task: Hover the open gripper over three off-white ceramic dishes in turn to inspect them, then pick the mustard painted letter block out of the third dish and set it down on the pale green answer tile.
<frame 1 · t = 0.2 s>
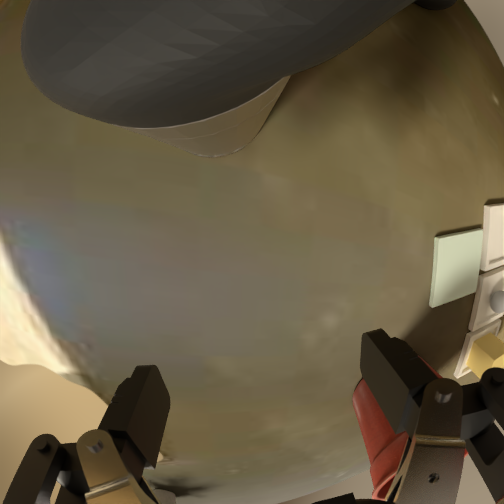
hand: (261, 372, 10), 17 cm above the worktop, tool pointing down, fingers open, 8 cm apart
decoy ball: (492, 297, 30), point 1 cm above the worktop, touching dish 2
dish 3: (476, 346, 33), on the worktop
flower pot: (388, 384, 33), on the worktop
dish 1: (498, 233, 27), on the worktop
answer tile: (456, 266, 28), on the worktop
dish 2: (490, 295, 30), on the worktop
letter block: (478, 348, 33), point 1 cm above the worktop, touching dish 3
house plant: (166, 491, 41), on the worktop
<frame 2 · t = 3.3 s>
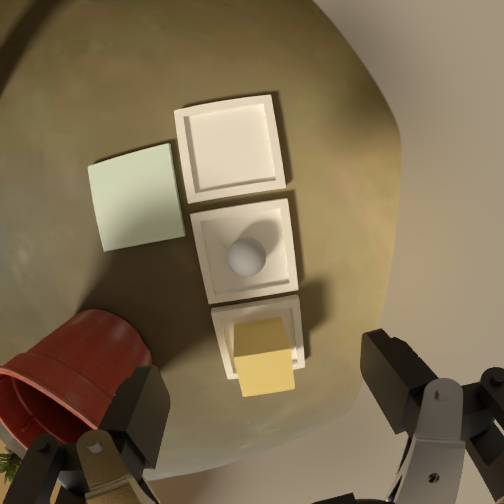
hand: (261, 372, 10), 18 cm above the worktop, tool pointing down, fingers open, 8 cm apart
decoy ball: (246, 252, 27), point 1 cm above the worktop, touching dish 2
dish 3: (260, 337, 30), on the worktop
flower pot: (109, 350, 30), on the worktop
dish 1: (229, 148, 25), on the worktop
answer tile: (135, 198, 25), on the worktop
dish 2: (245, 250, 27), on the worktop
letter block: (260, 340, 29), point 1 cm above the worktop, touching dish 3
house plant: (24, 439, 37), on the worktop
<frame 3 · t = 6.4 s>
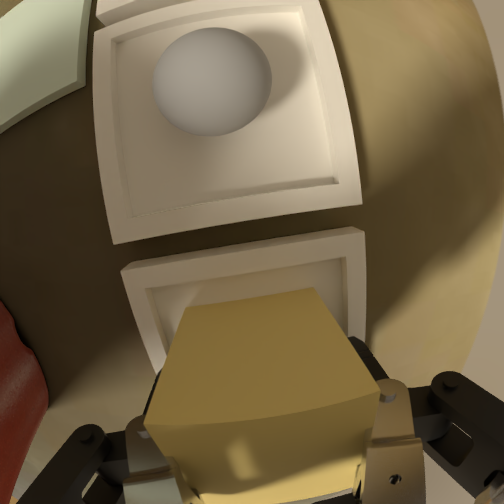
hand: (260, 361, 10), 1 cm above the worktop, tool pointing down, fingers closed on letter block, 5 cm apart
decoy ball: (216, 97, 9), point 1 cm above the worktop, touching dish 2
dish 3: (257, 343, 12), on the worktop
answer tile: (23, 52, 7), on the worktop
dish 2: (217, 102, 9), on the worktop
letter block: (258, 351, 11), point 1 cm above the worktop, touching dish 3, gripper
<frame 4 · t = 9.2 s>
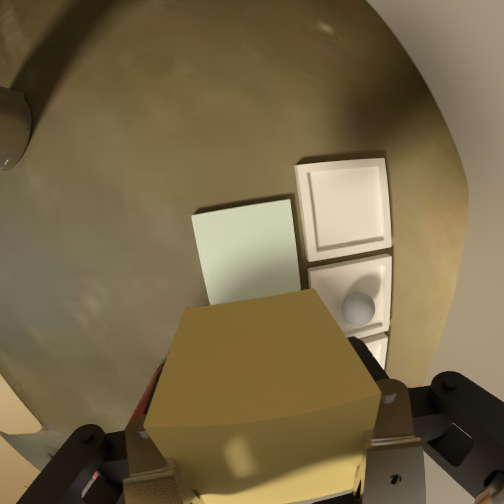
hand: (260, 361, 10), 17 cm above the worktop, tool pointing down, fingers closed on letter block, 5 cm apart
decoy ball: (352, 302, 28), point 1 cm above the worktop, touching dish 2
dish 3: (349, 369, 31), on the worktop
flower pot: (199, 393, 31), on the worktop
dish 1: (344, 206, 26), on the worktop
answer tile: (248, 253, 27), on the worktop
dish 2: (350, 300, 28), on the worktop
letter block: (258, 352, 11), point 16 cm above the worktop, touching gripper
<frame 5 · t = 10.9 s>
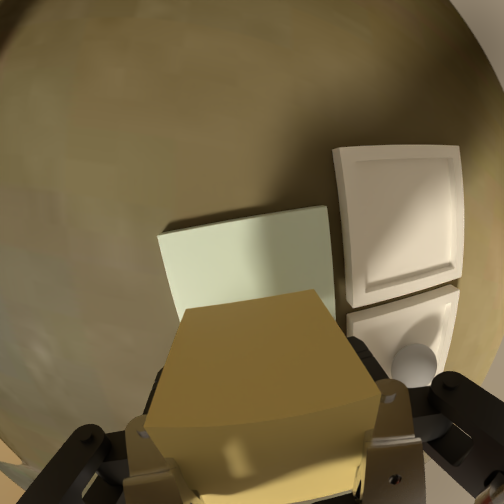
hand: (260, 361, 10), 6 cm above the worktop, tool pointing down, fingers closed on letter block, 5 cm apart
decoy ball: (403, 354, 17), point 1 cm above the worktop, touching dish 2
dish 1: (405, 218, 15), on the worktop
answer tile: (254, 294, 16), on the worktop
dish 2: (399, 350, 18), on the worktop
letter block: (258, 352, 11), point 5 cm above the worktop, touching gripper
when the fingers open (3 cm above the worktop, at t = 12.1 s): letter block drops 1 cm, resting on answer tile.
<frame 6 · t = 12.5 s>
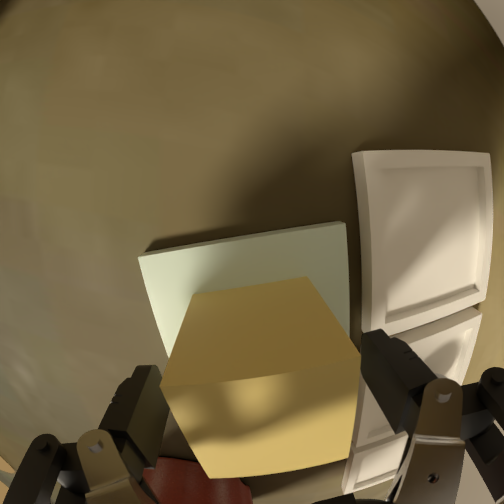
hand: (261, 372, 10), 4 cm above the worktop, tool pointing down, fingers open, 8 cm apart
dish 3: (390, 452, 18), on the worktop
flower pot: (184, 485, 18), on the worktop
dish 1: (431, 236, 13), on the worktop
answer tile: (255, 326, 13), on the worktop
dish 2: (414, 379, 15), on the worktop
letter block: (258, 335, 12), point 1 cm above the worktop, touching answer tile
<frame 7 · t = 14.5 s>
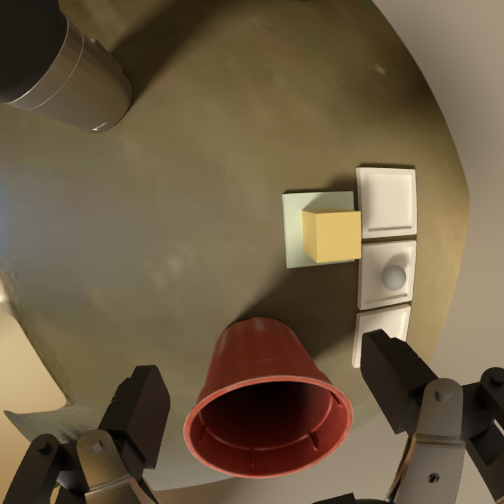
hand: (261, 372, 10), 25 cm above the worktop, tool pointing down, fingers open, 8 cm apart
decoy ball: (387, 274, 35), point 1 cm above the worktop, touching dish 2
dish 3: (380, 334, 38), on the worktop
flower pot: (257, 353, 38), on the worktop
dish 1: (386, 201, 34), on the worktop
answer tile: (319, 228, 34), on the worktop
dish 2: (385, 273, 36), on the worktop
letter block: (322, 229, 33), point 1 cm above the worktop, touching answer tile
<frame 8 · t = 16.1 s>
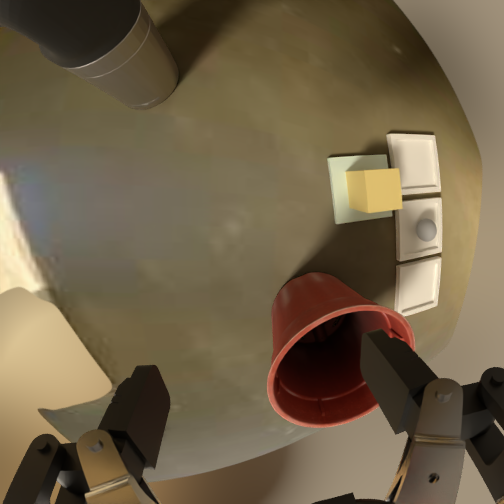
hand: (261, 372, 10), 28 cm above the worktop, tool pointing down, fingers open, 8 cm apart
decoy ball: (420, 228, 37), point 1 cm above the worktop, touching dish 2
dish 3: (416, 285, 40), on the worktop
flower pot: (311, 309, 41), on the worktop
dish 1: (413, 163, 35), on the worktop
answer tile: (360, 187, 36), on the worktop
dish 2: (418, 227, 38), on the worktop
letter block: (363, 188, 35), point 1 cm above the worktop, touching answer tile
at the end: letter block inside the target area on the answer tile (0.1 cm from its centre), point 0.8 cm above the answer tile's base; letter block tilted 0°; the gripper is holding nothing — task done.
